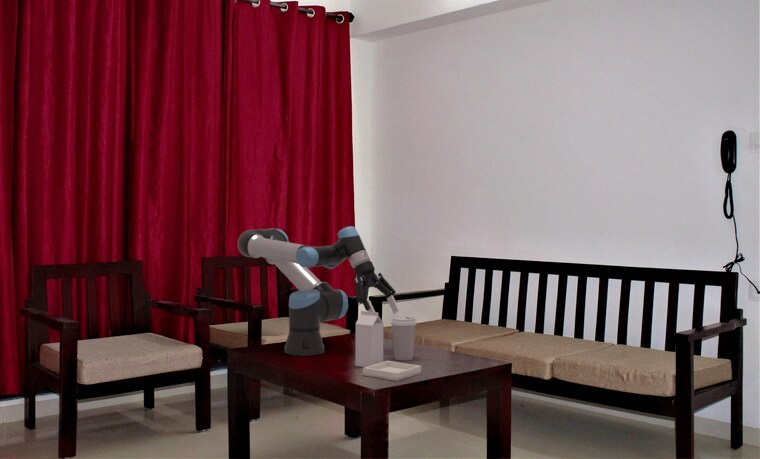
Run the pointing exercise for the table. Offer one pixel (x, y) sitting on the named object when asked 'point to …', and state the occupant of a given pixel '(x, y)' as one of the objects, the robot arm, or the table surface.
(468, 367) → the table surface
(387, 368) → the ceramic tray
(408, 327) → the coffee cup
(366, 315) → the milk carton
